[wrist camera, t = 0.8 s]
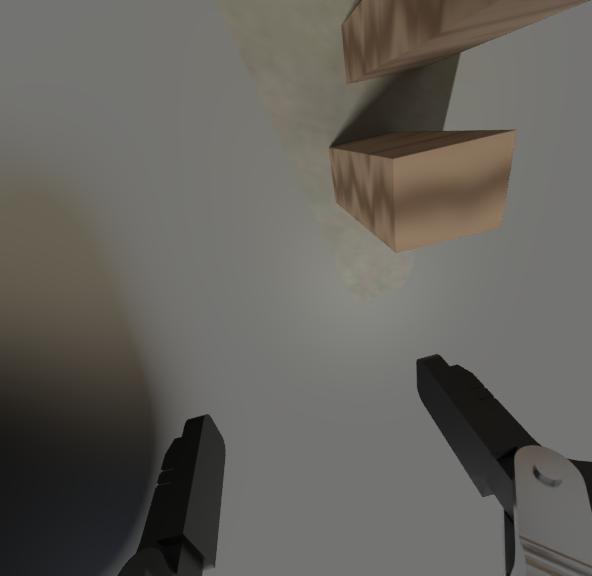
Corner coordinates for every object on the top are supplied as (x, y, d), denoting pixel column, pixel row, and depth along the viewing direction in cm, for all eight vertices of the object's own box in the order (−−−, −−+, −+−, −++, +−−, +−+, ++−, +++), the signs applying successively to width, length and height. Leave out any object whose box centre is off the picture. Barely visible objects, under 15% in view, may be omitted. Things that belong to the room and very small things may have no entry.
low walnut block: (328, 147, 41) (393, 159, 22) (395, 131, 41) (516, 129, 22) (335, 202, 45) (395, 252, 26) (396, 188, 45) (501, 227, 26)
